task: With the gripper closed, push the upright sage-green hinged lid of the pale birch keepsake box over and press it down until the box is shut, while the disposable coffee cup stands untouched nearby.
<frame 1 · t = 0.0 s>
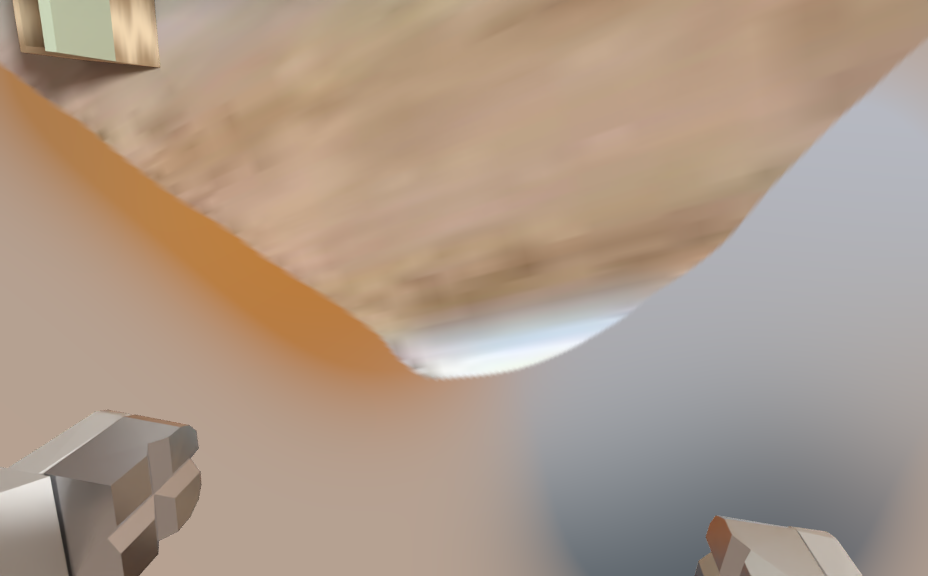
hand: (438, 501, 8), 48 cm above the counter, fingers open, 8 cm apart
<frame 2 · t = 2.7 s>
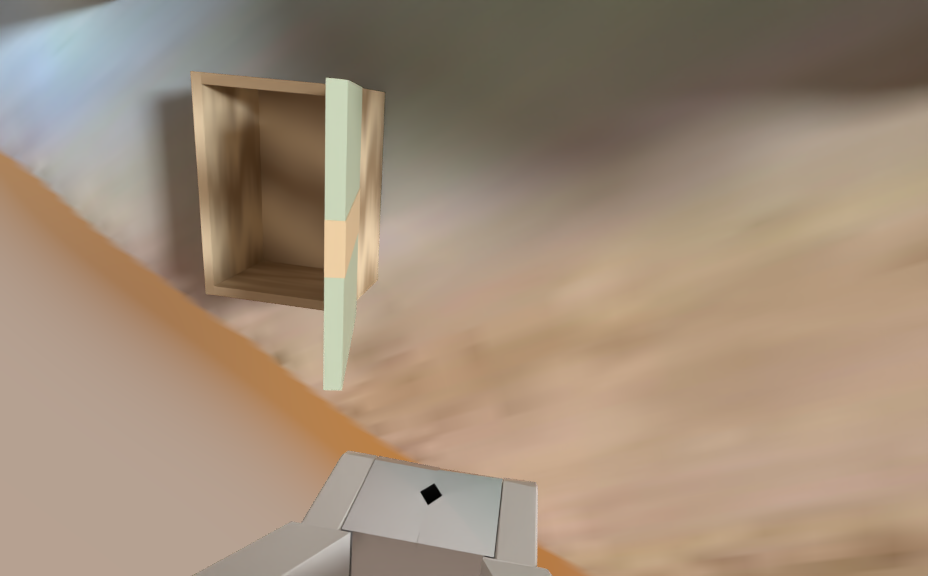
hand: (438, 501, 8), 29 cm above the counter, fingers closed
lid: (345, 225, 26), point 11 cm above the counter, hinge at 105.0°
keepsake box: (319, 184, 37), on the counter
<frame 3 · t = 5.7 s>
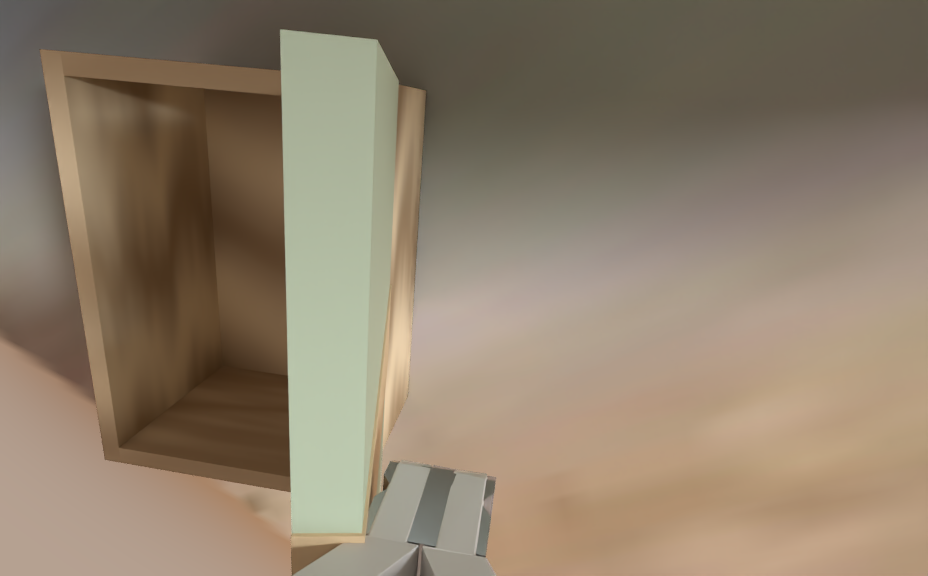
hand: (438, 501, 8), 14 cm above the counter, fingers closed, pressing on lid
lid: (360, 410, 11), point 11 cm above the counter, hinge at 103.4°, touching gripper
keepsake box: (311, 245, 22), on the counter
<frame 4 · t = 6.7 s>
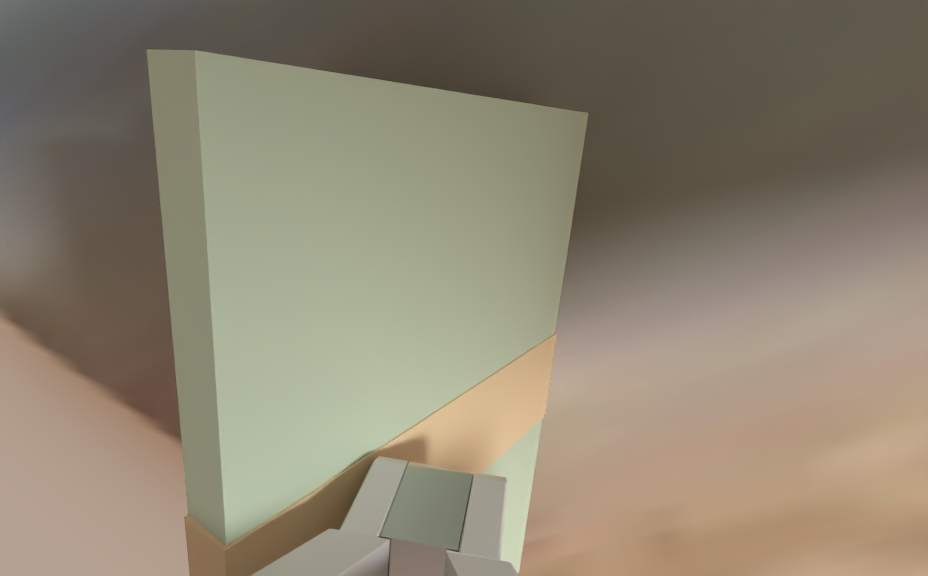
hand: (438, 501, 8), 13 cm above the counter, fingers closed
lid: (431, 447, 10), point 11 cm above the counter, hinge at 62.6°, touching gripper
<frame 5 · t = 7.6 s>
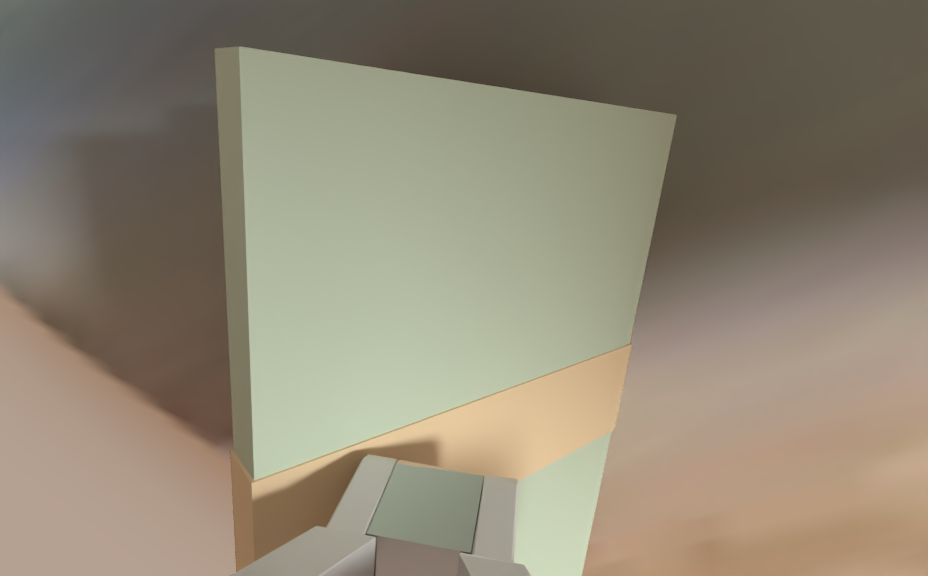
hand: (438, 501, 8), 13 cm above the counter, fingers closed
lid: (476, 437, 11), point 11 cm above the counter, hinge at 47.7°, touching gripper
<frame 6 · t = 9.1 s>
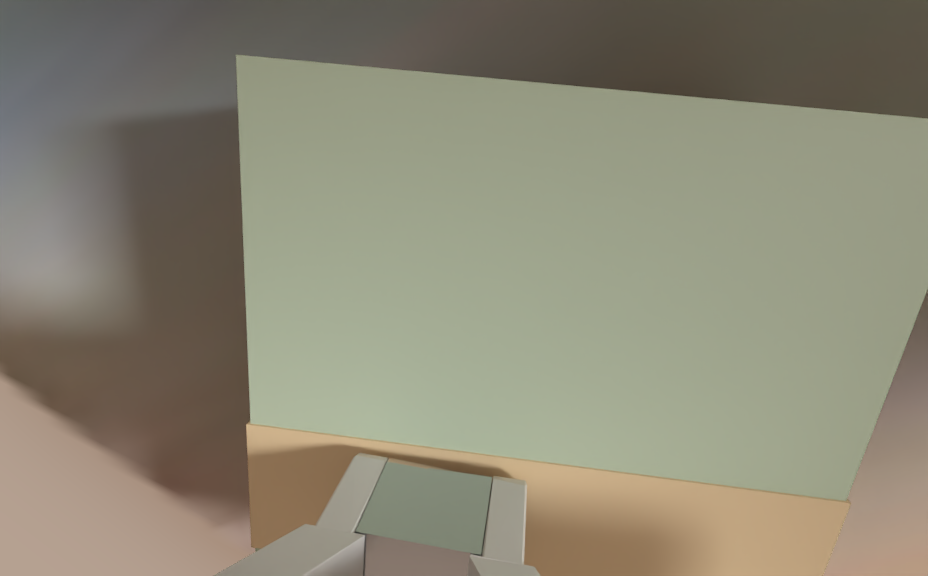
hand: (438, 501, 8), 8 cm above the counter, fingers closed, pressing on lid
lid: (528, 508, 9), point 8 cm above the counter, hinge at 2.9°, touching gripper
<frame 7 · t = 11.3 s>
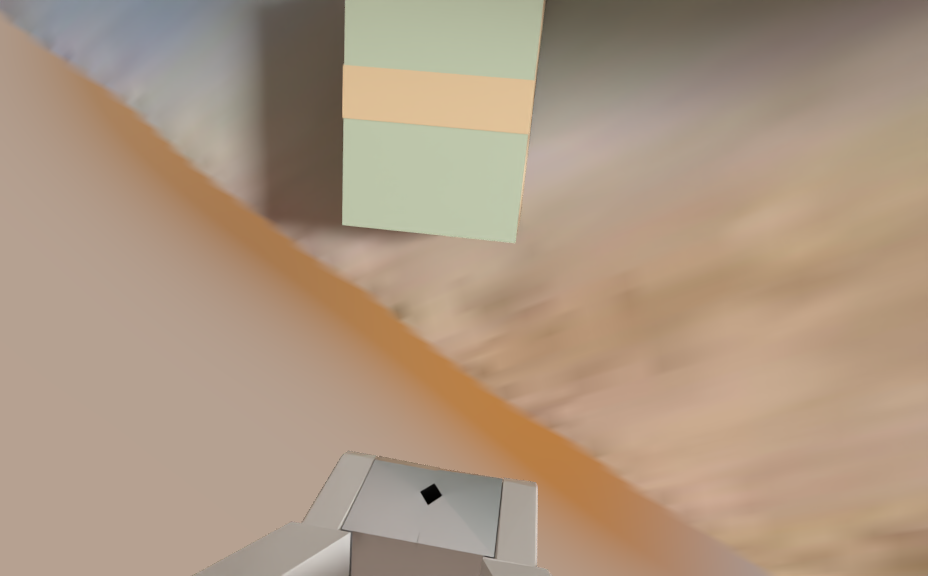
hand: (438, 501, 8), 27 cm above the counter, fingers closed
lid: (437, 100, 25), point 8 cm above the counter, hinge at 1.8°
keepsake box: (460, 105, 33), on the counter
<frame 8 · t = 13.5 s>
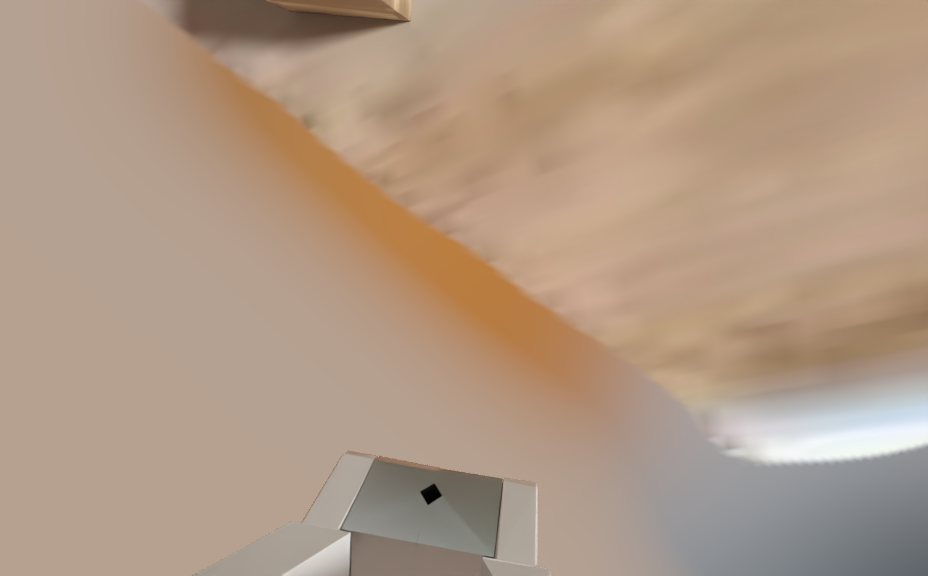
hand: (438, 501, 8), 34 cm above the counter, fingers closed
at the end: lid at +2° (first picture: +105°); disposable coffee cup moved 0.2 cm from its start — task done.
